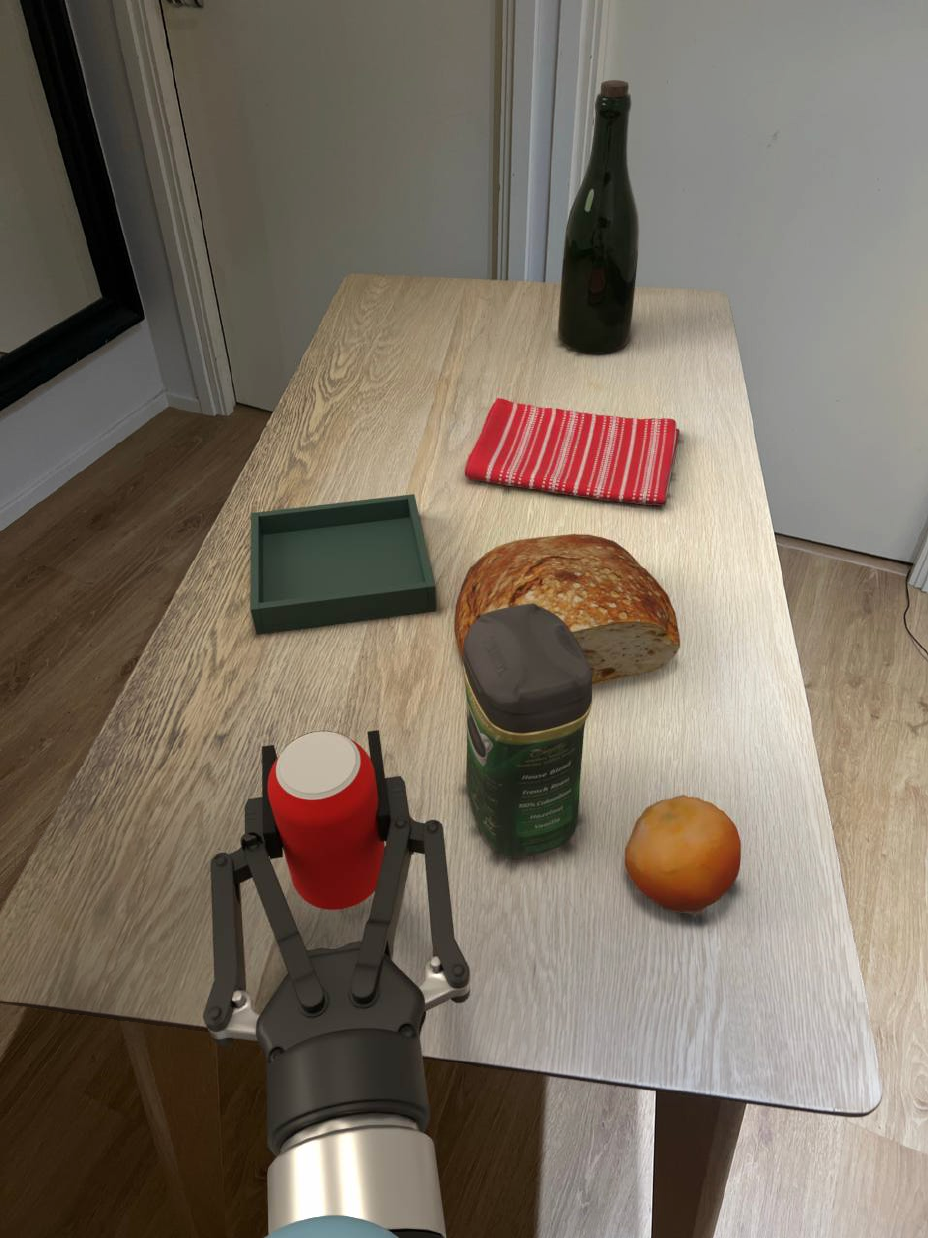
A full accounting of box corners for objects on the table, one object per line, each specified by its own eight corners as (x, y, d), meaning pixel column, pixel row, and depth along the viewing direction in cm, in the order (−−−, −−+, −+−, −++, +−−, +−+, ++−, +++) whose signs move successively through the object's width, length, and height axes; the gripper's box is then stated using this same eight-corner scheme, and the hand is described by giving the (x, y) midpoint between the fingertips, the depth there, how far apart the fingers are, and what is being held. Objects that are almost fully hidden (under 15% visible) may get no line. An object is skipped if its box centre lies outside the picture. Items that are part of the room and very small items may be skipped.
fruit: (721, 957, 60) (683, 865, 57) (631, 924, 66) (593, 840, 63) (780, 877, 64) (747, 788, 61) (690, 853, 70) (656, 772, 67)
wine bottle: (632, 356, 126) (663, 91, 103) (558, 355, 126) (572, 92, 104) (626, 323, 133) (654, 71, 111) (556, 323, 134) (570, 71, 111)
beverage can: (404, 854, 59) (392, 740, 51) (357, 934, 55) (335, 824, 47) (326, 821, 61) (301, 706, 53) (275, 896, 57) (240, 784, 49)
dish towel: (495, 411, 115) (495, 392, 114) (679, 434, 110) (682, 415, 109) (459, 484, 103) (458, 464, 102) (664, 513, 98) (667, 493, 97)
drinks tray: (256, 634, 86) (250, 609, 83) (256, 537, 97) (250, 512, 95) (436, 611, 88) (435, 585, 85) (416, 518, 99) (414, 493, 97)
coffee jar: (591, 845, 68) (614, 678, 55) (493, 874, 66) (494, 709, 53) (545, 750, 75) (556, 582, 62) (455, 774, 73) (448, 607, 60)
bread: (470, 717, 77) (468, 635, 71) (441, 583, 91) (437, 503, 84) (695, 687, 79) (714, 604, 73) (635, 560, 93) (646, 480, 86)
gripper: (160, 1209, 42) (187, 807, 59) (548, 1133, 44) (468, 765, 61) (115, 1161, 37) (158, 735, 54) (557, 1076, 39) (467, 692, 56)
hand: (323, 752), depth 57 cm, fingers closed on beverage can, 6 cm apart
